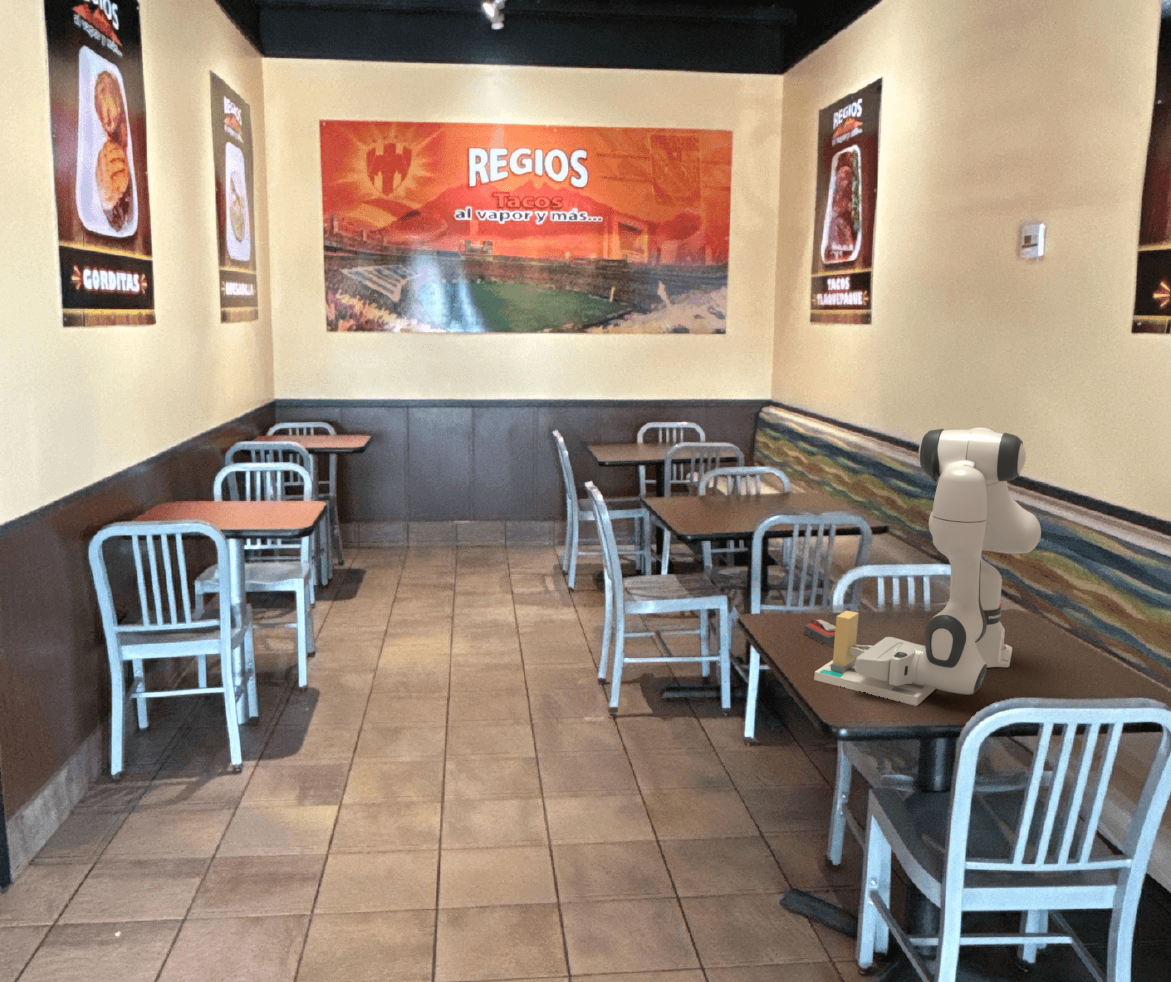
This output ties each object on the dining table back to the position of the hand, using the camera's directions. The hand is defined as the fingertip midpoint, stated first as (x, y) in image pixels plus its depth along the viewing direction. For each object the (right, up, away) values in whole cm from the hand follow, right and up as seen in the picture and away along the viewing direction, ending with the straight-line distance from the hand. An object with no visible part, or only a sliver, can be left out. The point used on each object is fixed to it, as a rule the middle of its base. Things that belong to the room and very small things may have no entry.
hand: (851, 649), depth 243 cm
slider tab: (-1, -4, +2) cm, 5 cm away
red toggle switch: (0, -2, +32) cm, 32 cm away
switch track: (+5, -8, -2) cm, 9 cm away
